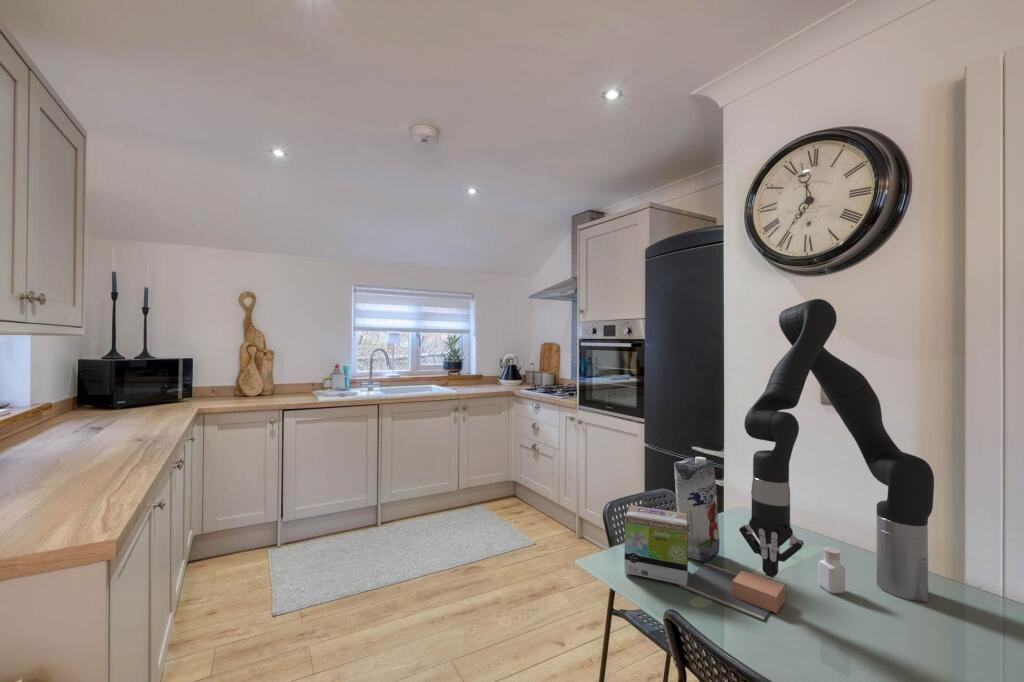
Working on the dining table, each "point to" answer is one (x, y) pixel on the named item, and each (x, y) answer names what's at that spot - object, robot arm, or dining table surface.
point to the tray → (721, 590)
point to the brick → (758, 591)
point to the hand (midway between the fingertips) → (770, 575)
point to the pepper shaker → (832, 571)
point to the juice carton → (698, 506)
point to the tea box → (656, 544)
